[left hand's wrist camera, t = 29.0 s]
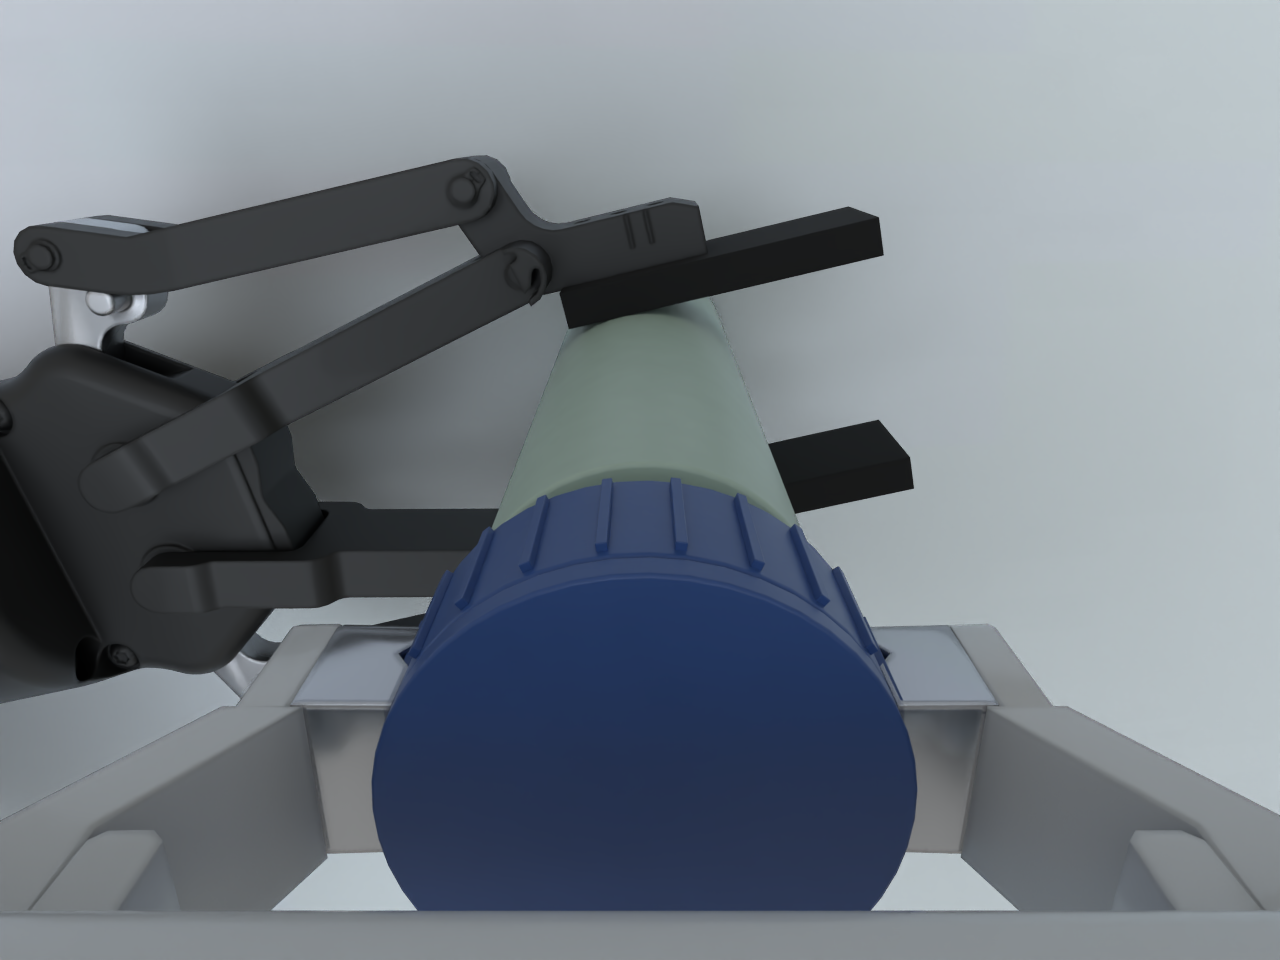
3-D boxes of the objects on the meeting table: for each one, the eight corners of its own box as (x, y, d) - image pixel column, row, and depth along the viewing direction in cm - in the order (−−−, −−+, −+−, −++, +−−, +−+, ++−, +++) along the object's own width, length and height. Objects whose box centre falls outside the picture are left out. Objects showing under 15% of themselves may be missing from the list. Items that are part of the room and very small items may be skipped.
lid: (602, 372, 9) (590, 443, 7) (966, 650, 10) (1047, 781, 8) (331, 710, 10) (257, 850, 8) (675, 915, 12) (683, 1081, 10)
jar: (742, 290, 25) (932, 606, 9) (692, 430, 27) (770, 925, 10) (594, 242, 25) (489, 477, 8) (552, 387, 26) (393, 834, 10)
